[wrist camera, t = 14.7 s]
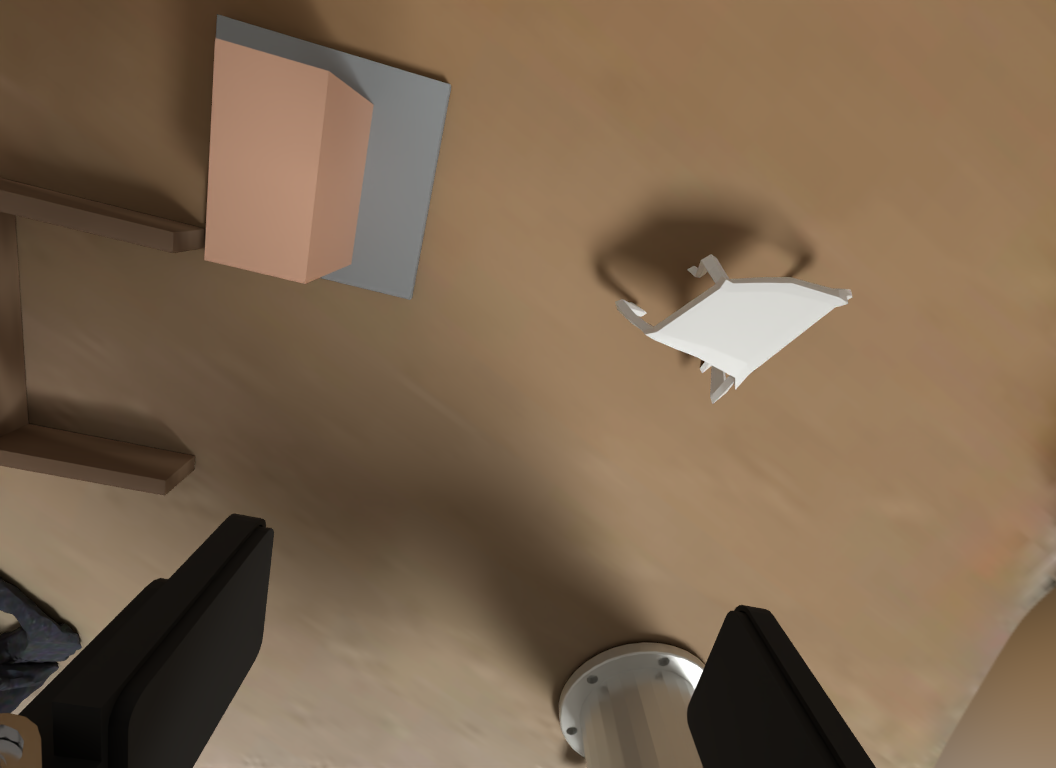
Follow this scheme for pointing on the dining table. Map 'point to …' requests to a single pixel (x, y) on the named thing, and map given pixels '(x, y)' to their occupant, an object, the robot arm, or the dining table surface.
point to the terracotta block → (283, 165)
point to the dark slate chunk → (29, 648)
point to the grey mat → (377, 155)
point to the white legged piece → (739, 321)
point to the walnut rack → (3, 383)
